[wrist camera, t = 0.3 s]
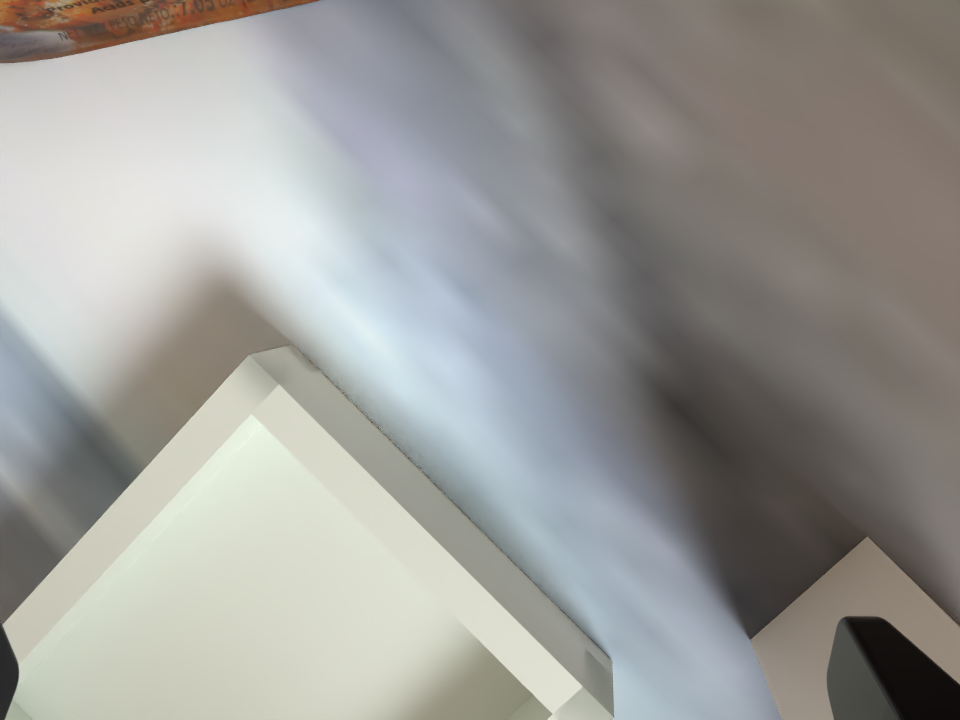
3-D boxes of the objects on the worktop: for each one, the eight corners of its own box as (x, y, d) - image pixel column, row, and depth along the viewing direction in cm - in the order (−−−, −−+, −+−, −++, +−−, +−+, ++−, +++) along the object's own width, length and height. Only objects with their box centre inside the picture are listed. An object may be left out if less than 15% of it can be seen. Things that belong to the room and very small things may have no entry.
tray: (612, 661, 23) (613, 717, 20) (269, 973, 26) (226, 1065, 23) (293, 344, 24) (248, 354, 21) (-17, 680, 26) (-97, 732, 23)
